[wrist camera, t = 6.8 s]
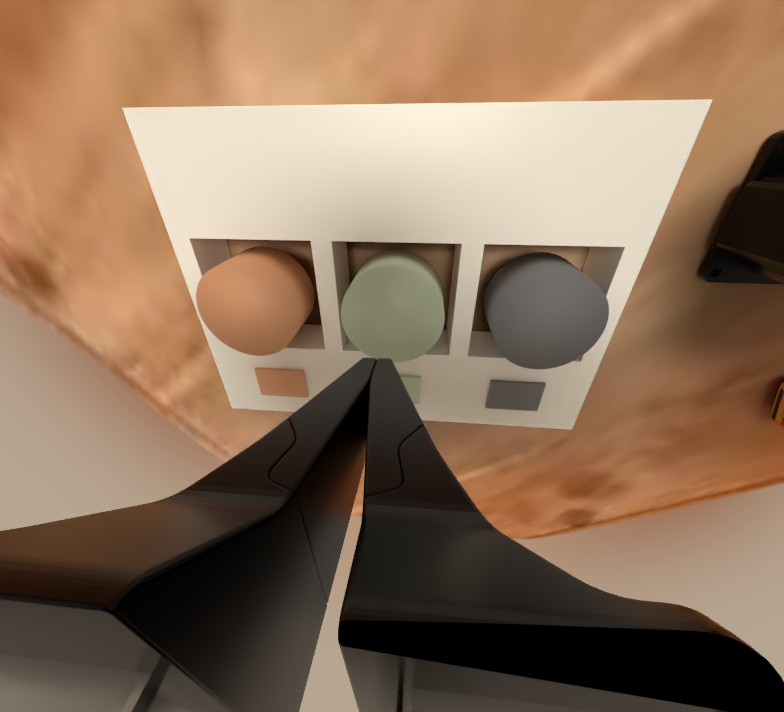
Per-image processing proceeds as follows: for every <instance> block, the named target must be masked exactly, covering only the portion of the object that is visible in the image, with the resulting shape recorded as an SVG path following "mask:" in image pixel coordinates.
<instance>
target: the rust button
mask: <svg viewBox="0 0 784 712" xmlns="http://www.w3.org/2000/svg"><path fill="white" fill-rule="evenodd" d="M196 302H197V307H198V311H199V313H200V316H201V318H202V320H203V321H204V323H205V325H206V326H207V327H208V329H209V330H210V331H211V332H212V333H213V334H214V335H215V336H216V337H217V338H218V339H219V340H220V341H221V342H223V343H224V344H226V345H227V346H229V347H231V348H232V349H234V350H237V351H239V352H242V353H245V354H249V355H255V356H266V355H271V354H275V353H277V352H279V351H281V350H283V349H284V348H285V347H286V346H287V345H288V344H289V343H290V342H291V340H292V339H293V338H294V336H295V335H296V333H297V332H298V331H299V329H300V328H301V326H302V325H303V324H304V322H305V321H306V319H307V318H308V316H309V315H310V313H311V311H312V309H313V305H314V289H313V285H312V282H311V280H310V278H309V276H308V274H307V273H306V271H305V270H304V268H303V267H302V266H301V265H300V264H299V263H298V262H297V261H296V260H295V259H294V258H292V257H291V256H290V255H288V254H286V253H285V252H283V251H281V250H278V249H275V248H271V247H264V246H259V247H252V248H249V249H246V250H245V251H243V252H241V253H239V254H237V255H235V256H234V257H232V258H230V259H228V260H226V261H224V262H223V263H221V264H219V265H217V266H215V267H213V268H212V269H210V270H208V271H207V272H206V273H205V274H204V275H203V276H202V278H201V279H200V281H199V283H198V286H197V291H196Z"/></svg>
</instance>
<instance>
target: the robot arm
mask: <svg viewBox="0 0 784 712" xmlns="http://www.w3.org/2000/svg"><path fill="white" fill-rule="evenodd" d="M783 141H784V130H782V131H780V132H778V133H776V134H775V135H774V136H772V137H771V138H770V140H769V141H768V142H767V144H766V146H765V148H764V149H763V151H762V153H761V155H760V157H759V159H758V161H757V163H756V165H755V166H754V168H753V170H752V172H751V174H750V176H749V178H748V180H747V182H746V183H745V185H744V187H743V189H742V191H741V193H740V195H739V197H738V199H737V200H736V202H735V204H734V206H733V208H732V210H731V212H730V214H729V216H728V217H727V219H726V221H725V223H724V225H723V227H722V229H721V231H720V233H719V234H718V236H717V238H716V240H715V242H714V244H713V246H712V248H711V249H710V251H709V253H708V255H707V257H706V259H705V261H704V263H703V265H702V266H701V268H700V270H699V277H700V278H701V279H703V280H705V281H707V282H721V283H757V284H784V147H783V148H780V146H781V143H782V142H783ZM715 268H716V269H715ZM713 269H715V271H714V272H713V273H712V274H710V272H711V271H712V270H713ZM364 463H365V478H364V497H363V498H364V501H363V514H362V523H361V528H360V532H359V536H358V541H357V545H356V549H355V554H354V558H353V562H352V566H351V571H350V575H349V579H348V583H347V588H346V592H345V597H344V601H343V606H342V610H341V614H340V621H339V628H338V641H339V645H340V648H341V652H342V655H343V658H344V662H345V665H346V669H347V671H348V675H349V679H350V682H351V686H352V689H353V692H354V696H355V699H356V702H357V706H358V709H359V712H784V682H783V680H782V678H781V676H780V675H779V674H778V673H777V671H776V670H775V669H774V667H773V666H772V665H771V664H770V663H769V661H768V660H767V659H765V658H764V657H763V656H762V655H760V654H759V653H758V652H757V651H755V649H753V648H752V647H751V646H750V645H748V644H747V643H745V642H744V641H743V640H741V639H740V638H738V637H737V636H736V635H734V634H733V633H731V632H730V631H728V630H726V629H725V628H723V627H722V626H720V625H719V624H718V623H716V622H715V621H713V620H712V619H710V618H709V617H707V616H705V615H704V614H702V613H700V612H698V611H696V610H693V609H691V608H687V607H684V606H681V605H676V604H670V603H663V602H651V601H642V600H635V599H629V598H624V597H620V596H617V595H614V594H610V593H607V592H604V591H602V590H599V589H597V588H595V587H592V586H590V585H588V584H586V583H584V582H582V581H581V580H579V579H577V578H575V577H573V576H572V575H570V574H568V573H567V572H565V571H563V570H562V569H560V568H559V567H557V566H555V565H554V564H552V563H550V562H549V561H547V560H545V559H544V558H542V557H541V556H539V555H537V554H536V553H534V552H532V551H531V550H529V549H527V548H526V547H524V546H522V545H521V544H519V543H518V542H516V541H514V540H513V539H511V538H509V537H508V536H506V535H504V534H503V533H501V532H500V531H498V530H497V529H496V528H495V527H494V526H492V525H491V524H490V523H489V522H488V521H487V520H486V518H485V517H484V516H483V515H482V514H481V512H480V511H479V510H478V508H477V507H476V506H475V504H474V503H473V501H472V500H471V498H470V497H469V496H468V494H467V493H466V491H465V490H464V488H463V487H462V486H461V484H460V483H459V481H458V480H457V479H456V477H455V476H454V474H453V473H452V471H451V470H450V469H449V467H448V466H447V464H446V463H445V461H444V460H443V458H442V457H441V455H440V454H439V452H438V450H437V449H436V447H435V445H434V443H433V441H432V440H431V438H430V436H429V434H428V432H427V430H426V428H425V427H424V424H423V422H422V420H421V418H420V416H419V414H418V412H417V410H416V408H415V406H414V404H413V402H412V400H411V398H410V396H409V394H408V392H407V390H406V388H405V385H404V383H403V381H402V379H401V377H400V375H399V373H398V371H397V369H396V367H395V365H394V363H393V361H392V360H391V359H387V358H379V359H376V358H362V359H361V360H359V361H358V362H357V363H356V364H354V365H353V366H352V367H351V368H349V369H348V370H347V371H346V372H344V373H343V374H342V375H341V376H339V377H338V378H337V379H336V380H334V381H333V382H332V383H331V384H329V385H328V386H327V387H326V388H324V389H323V390H322V391H321V392H319V393H318V394H317V395H316V396H314V397H313V398H312V399H311V400H309V401H308V402H307V403H306V404H304V405H303V406H302V407H301V408H299V409H298V410H297V411H296V412H294V413H293V414H292V415H291V416H289V418H288V419H286V420H284V421H283V422H282V423H280V424H279V425H278V426H277V427H275V428H274V429H273V430H271V431H270V432H269V433H268V434H266V435H265V436H264V437H262V438H261V439H260V440H258V441H257V442H255V443H254V444H252V445H251V446H249V447H248V448H247V449H245V450H244V451H242V452H241V453H239V454H238V455H236V456H235V457H233V458H232V459H230V460H229V461H227V462H226V463H224V464H223V465H221V466H220V467H218V468H217V469H215V470H214V471H212V472H211V473H209V474H208V475H206V476H205V477H203V478H202V479H200V480H198V481H197V482H195V483H194V484H192V485H191V486H189V487H188V488H186V489H184V490H182V491H181V492H179V493H177V494H175V495H173V496H170V497H168V498H165V499H162V500H159V501H156V502H152V503H148V504H143V505H138V506H133V507H128V508H122V509H117V510H112V511H106V512H101V513H97V514H91V515H86V516H81V517H76V518H70V519H65V520H60V521H55V522H49V523H45V524H39V525H34V526H29V527H23V528H17V529H11V530H4V531H0V712H299V710H300V706H301V702H302V698H303V694H304V691H305V687H306V683H307V679H308V675H309V672H310V668H311V664H312V660H313V656H314V653H315V649H316V645H317V641H318V638H319V633H320V630H321V626H322V622H323V619H324V615H325V611H326V607H327V604H326V603H327V602H328V599H329V595H330V591H331V587H332V584H333V580H334V576H335V573H336V569H337V565H338V561H339V558H340V554H341V550H342V546H343V542H344V539H345V535H346V531H347V527H348V523H349V520H350V516H351V512H352V508H353V504H354V501H355V497H356V493H357V489H358V485H359V482H360V478H361V474H362V470H363V466H364Z"/></svg>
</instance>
